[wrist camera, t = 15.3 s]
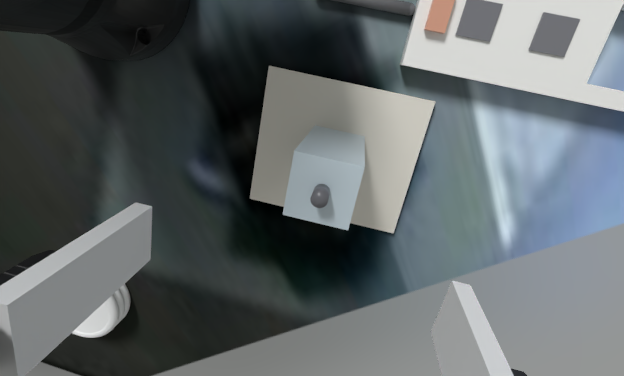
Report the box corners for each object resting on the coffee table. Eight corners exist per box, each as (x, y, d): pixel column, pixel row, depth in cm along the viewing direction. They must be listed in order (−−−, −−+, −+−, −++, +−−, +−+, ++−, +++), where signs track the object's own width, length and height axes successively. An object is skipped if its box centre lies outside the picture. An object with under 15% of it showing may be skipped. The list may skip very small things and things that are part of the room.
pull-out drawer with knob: (305, 172, 36) (277, 223, 24) (315, 125, 34) (289, 156, 23) (352, 183, 36) (347, 240, 24) (364, 136, 34) (364, 173, 22)
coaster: (98, 246, 44) (77, 261, 41) (146, 305, 47) (130, 324, 43) (49, 276, 47) (25, 291, 44) (96, 330, 49) (77, 349, 46)
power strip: (305, 44, 33) (300, 43, 30) (325, -68, 30) (321, -80, 27) (717, 131, 30) (749, 137, 28) (787, 19, 27) (830, 14, 25)
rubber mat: (251, 196, 39) (249, 198, 38) (270, 65, 34) (268, 65, 33) (392, 231, 38) (393, 233, 37) (434, 101, 33) (435, 101, 32)
